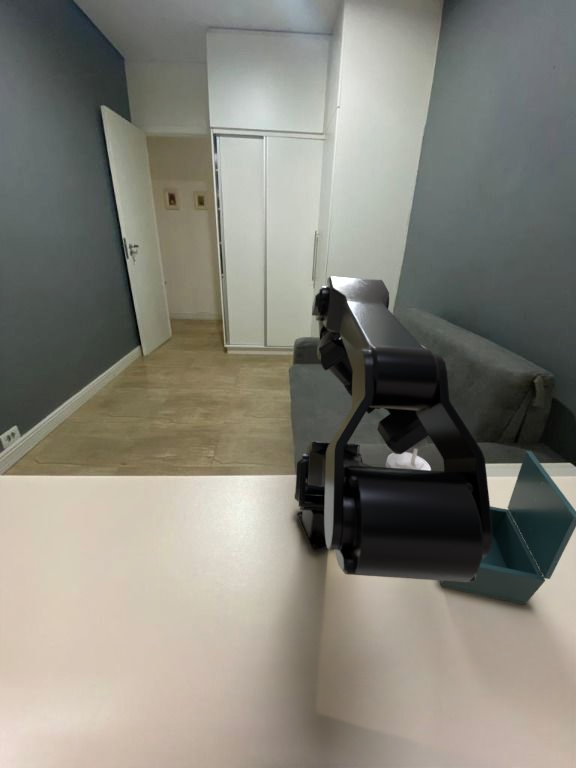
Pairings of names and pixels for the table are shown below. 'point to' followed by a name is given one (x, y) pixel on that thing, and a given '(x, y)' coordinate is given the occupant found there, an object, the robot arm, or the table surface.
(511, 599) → the box
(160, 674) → the table surface
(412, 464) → the smoothie
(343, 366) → the robot arm
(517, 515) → the box lid
